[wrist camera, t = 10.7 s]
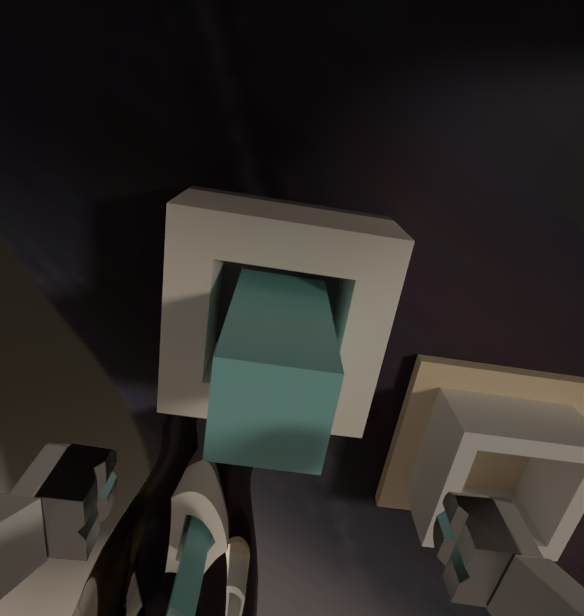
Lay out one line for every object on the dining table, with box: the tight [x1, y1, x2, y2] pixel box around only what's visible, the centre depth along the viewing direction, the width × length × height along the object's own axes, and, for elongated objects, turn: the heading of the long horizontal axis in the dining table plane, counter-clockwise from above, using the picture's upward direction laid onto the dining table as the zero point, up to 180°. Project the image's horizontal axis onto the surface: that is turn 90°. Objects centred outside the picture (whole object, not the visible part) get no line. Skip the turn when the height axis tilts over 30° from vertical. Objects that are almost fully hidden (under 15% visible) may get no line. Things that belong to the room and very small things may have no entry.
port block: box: [157, 185, 415, 438], centre depth 22 cm, size 10×10×5 cm
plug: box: [203, 264, 344, 475], centre depth 19 cm, size 4×4×10 cm
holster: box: [375, 354, 584, 561], centre depth 26 cm, size 11×11×5 cm
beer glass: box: [72, 414, 258, 616], centre depth 21 cm, size 7×7×15 cm
